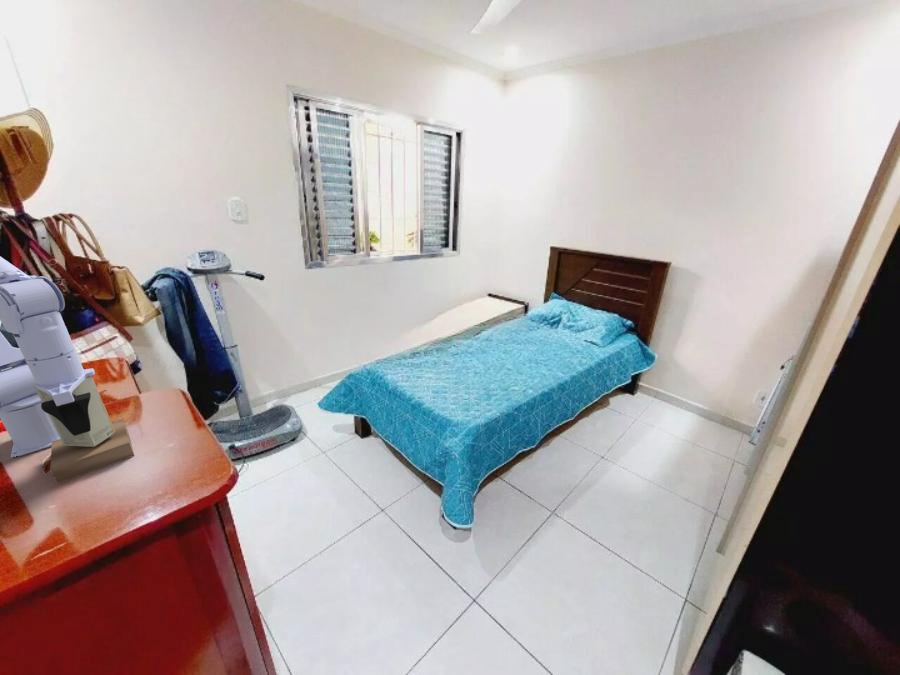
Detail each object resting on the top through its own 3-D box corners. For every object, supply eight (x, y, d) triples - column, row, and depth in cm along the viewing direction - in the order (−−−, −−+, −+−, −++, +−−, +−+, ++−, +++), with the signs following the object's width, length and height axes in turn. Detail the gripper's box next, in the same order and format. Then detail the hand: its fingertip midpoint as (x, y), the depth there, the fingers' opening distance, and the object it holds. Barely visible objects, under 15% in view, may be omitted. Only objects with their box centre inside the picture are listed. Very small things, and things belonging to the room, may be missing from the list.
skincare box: (117, 433, 67) (94, 375, 63) (93, 448, 63) (67, 387, 59) (85, 431, 68) (61, 373, 63) (59, 446, 64) (32, 385, 59)
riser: (58, 454, 67) (51, 441, 66) (128, 431, 73) (123, 419, 72) (57, 484, 60) (50, 469, 59) (134, 455, 67) (129, 442, 66)
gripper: (85, 360, 57) (115, 431, 62) (82, 335, 66) (108, 398, 71) (18, 374, 52) (56, 450, 57) (26, 345, 62) (57, 412, 67)
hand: (81, 422), depth 64 cm, fingers closed on skincare box, 7 cm apart
